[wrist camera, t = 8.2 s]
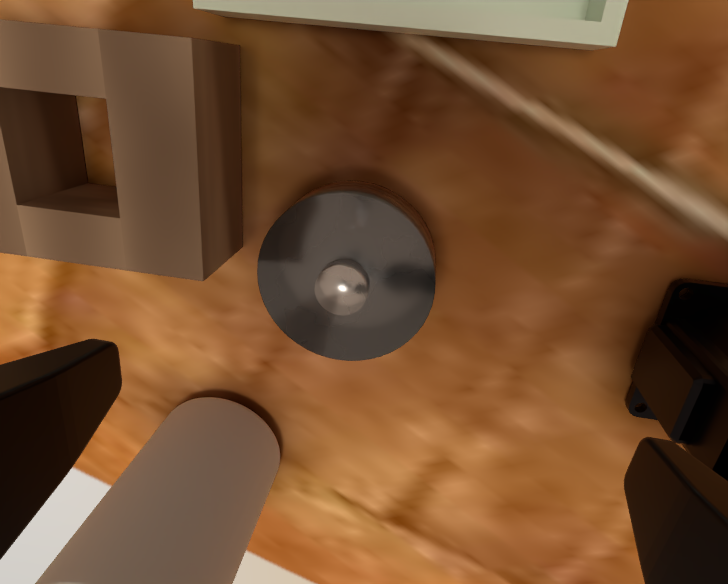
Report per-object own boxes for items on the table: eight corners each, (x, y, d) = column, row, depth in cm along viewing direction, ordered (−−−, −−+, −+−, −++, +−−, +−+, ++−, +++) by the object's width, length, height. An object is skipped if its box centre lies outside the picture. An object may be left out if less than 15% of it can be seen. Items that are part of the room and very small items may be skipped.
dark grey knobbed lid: (447, 191, 19) (449, 211, 17) (423, 343, 22) (420, 383, 19) (276, 171, 20) (249, 186, 17) (274, 321, 23) (250, 357, 20)
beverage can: (150, 401, 26) (-57, 634, 15) (256, 377, 24) (111, 618, 14) (201, 490, 28) (53, 751, 17) (302, 473, 27) (209, 748, 16)
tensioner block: (239, 45, 18) (191, 37, 15) (242, 247, 22) (203, 281, 18) (-6, 21, 19) (-109, 8, 16) (33, 218, 23) (-45, 245, 19)
